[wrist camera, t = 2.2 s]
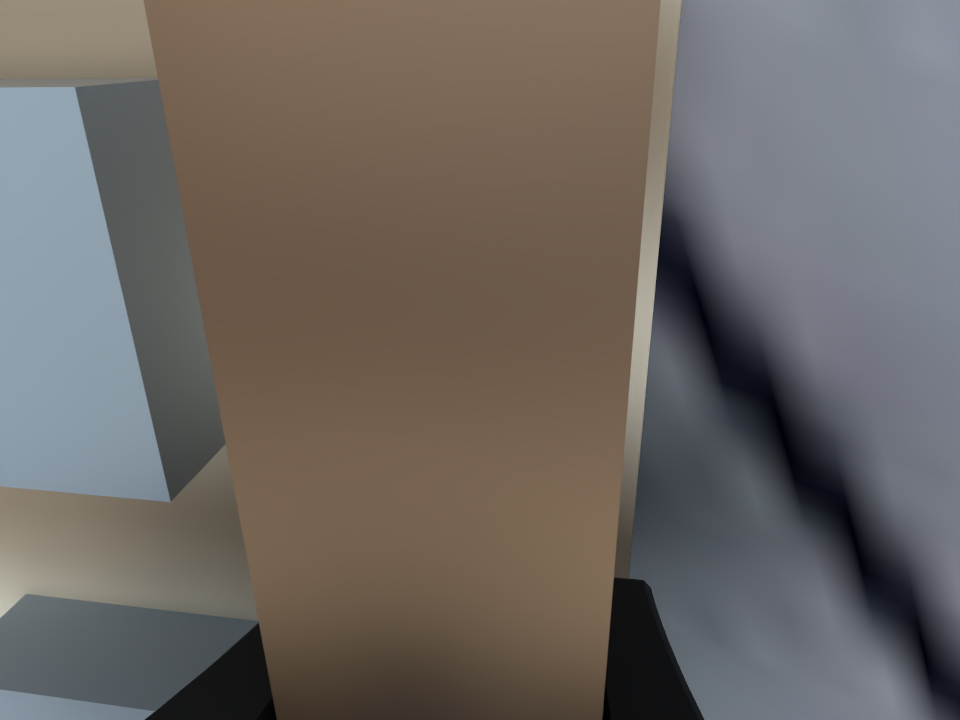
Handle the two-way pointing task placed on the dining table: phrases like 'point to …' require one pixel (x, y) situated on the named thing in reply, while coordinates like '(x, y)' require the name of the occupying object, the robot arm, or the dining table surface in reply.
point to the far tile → (102, 657)
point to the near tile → (98, 296)
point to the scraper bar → (419, 332)
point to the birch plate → (210, 494)
